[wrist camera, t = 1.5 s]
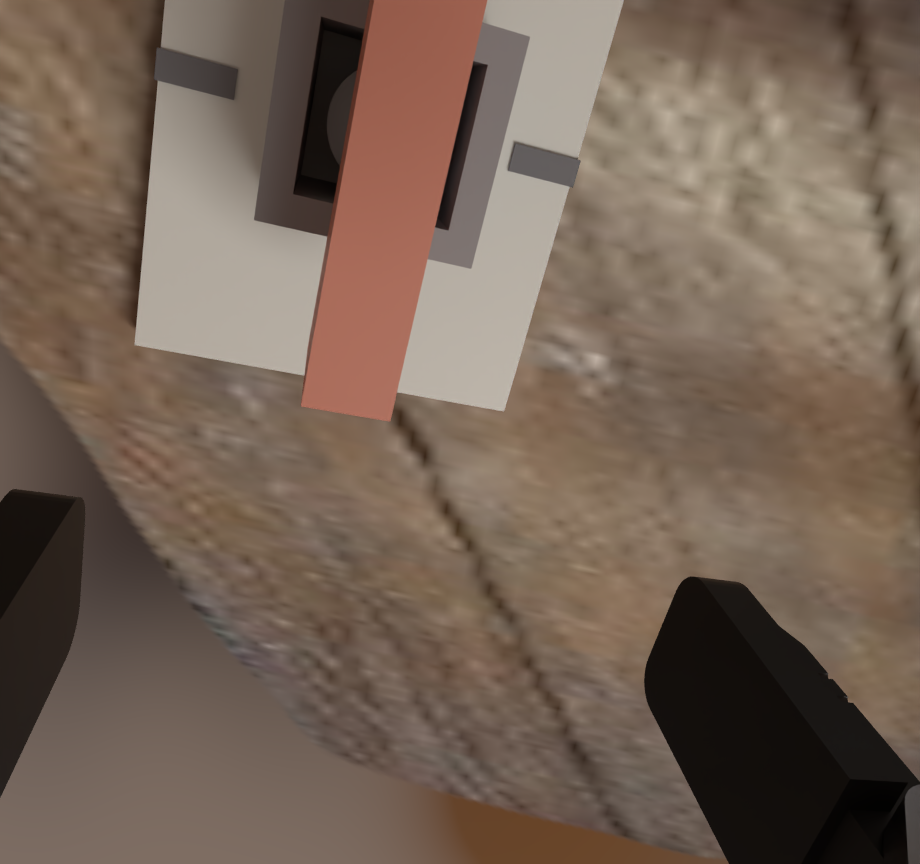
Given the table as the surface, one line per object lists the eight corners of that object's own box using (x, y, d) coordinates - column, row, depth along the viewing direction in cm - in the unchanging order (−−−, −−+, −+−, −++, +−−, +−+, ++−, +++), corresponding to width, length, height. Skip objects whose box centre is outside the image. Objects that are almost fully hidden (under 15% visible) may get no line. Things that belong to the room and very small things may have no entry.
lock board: (195, -295, 23) (149, -419, 17) (652, -126, 26) (737, -183, 21) (139, 334, 30) (94, 391, 25) (500, 401, 34) (533, 464, 28)
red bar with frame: (317, -141, 24) (304, -290, 14) (522, -72, 25) (632, -165, 16) (254, 291, 29) (214, 391, 19) (427, 326, 30) (467, 434, 21)
